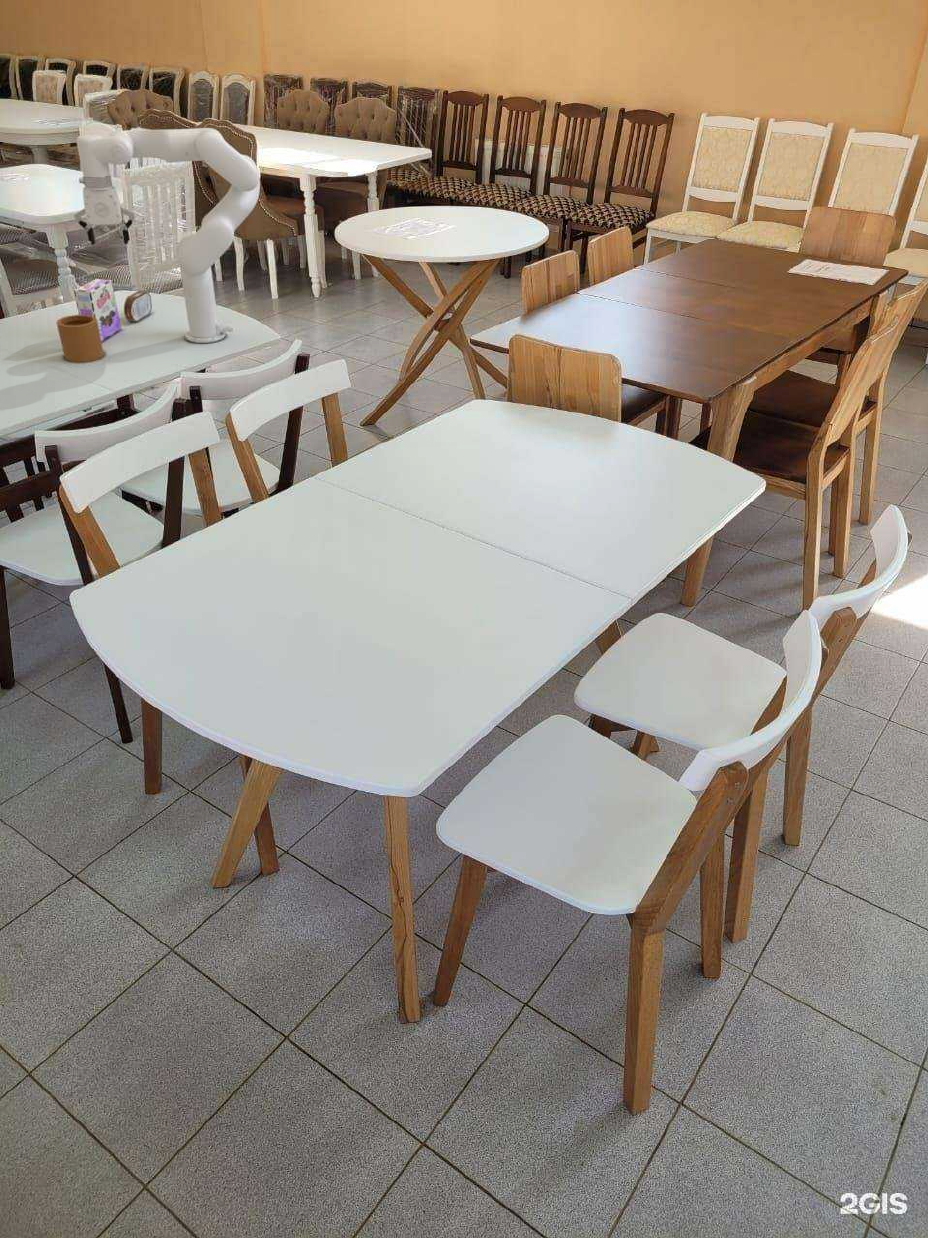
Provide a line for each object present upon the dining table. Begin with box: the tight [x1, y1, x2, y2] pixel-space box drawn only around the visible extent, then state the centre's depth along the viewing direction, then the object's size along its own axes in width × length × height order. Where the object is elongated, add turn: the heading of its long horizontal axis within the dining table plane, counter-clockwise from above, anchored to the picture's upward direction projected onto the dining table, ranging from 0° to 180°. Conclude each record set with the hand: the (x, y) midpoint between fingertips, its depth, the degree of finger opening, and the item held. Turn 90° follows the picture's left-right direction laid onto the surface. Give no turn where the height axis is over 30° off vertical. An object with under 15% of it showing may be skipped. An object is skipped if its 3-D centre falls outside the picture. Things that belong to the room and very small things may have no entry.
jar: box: [56, 314, 105, 363], centre depth 281 cm, size 11×11×11 cm
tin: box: [123, 290, 153, 323], centre depth 312 cm, size 15×3×8 cm, turn 169°
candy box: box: [73, 278, 122, 342], centre depth 295 cm, size 14×6×16 cm, turn 168°
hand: (110, 243), depth 278 cm, fingers open, 9 cm apart
